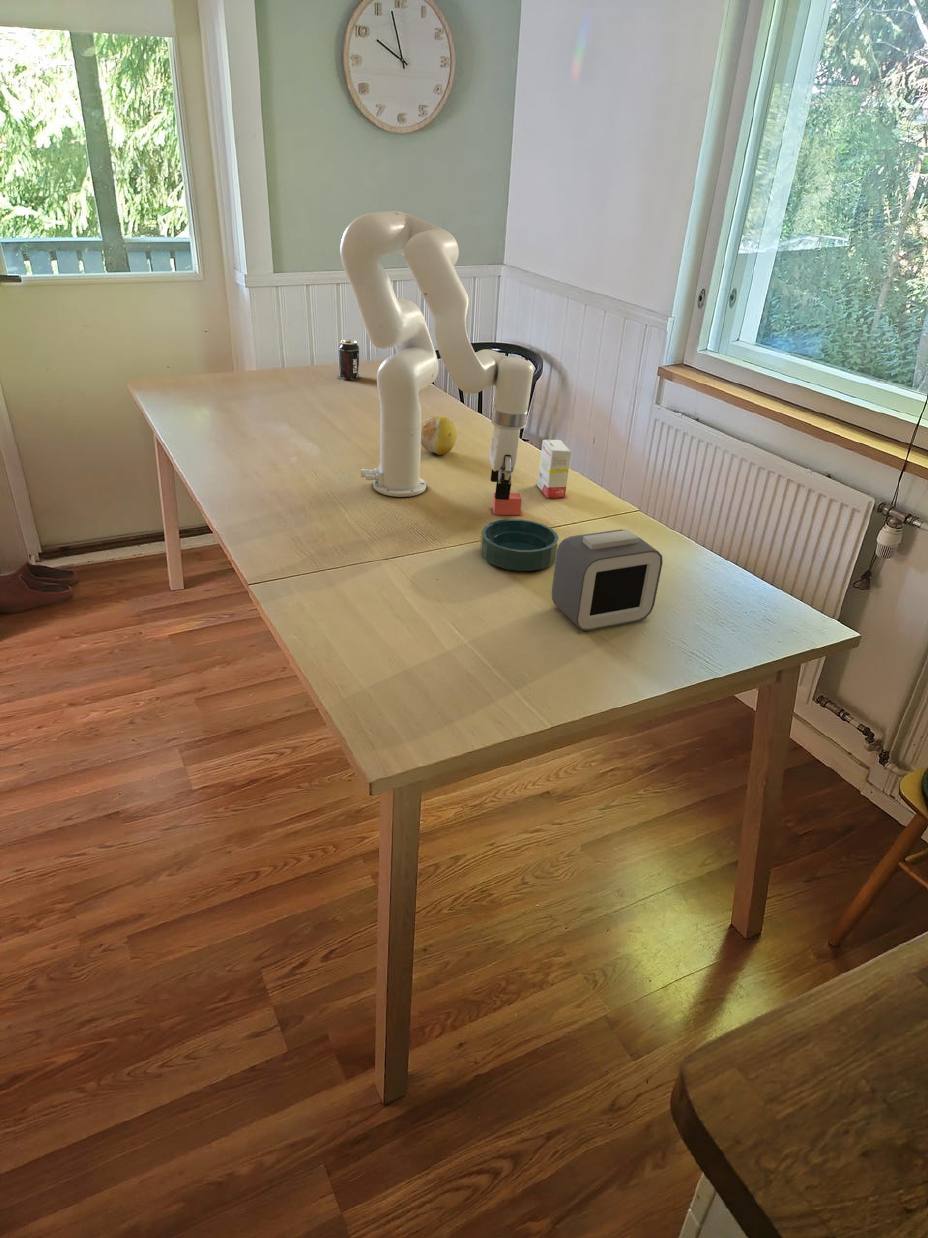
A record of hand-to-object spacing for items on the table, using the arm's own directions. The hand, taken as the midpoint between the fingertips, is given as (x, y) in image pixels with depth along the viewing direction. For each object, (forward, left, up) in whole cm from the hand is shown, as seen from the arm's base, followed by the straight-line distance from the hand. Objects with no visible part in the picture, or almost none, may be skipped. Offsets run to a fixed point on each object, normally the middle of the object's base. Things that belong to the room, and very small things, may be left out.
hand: (499, 490), depth 191 cm
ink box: (+14, +12, -5) cm, 19 cm away
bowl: (+1, -24, -5) cm, 25 cm away
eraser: (+2, -1, -5) cm, 5 cm away
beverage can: (-39, +108, -5) cm, 115 cm away
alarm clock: (+13, -46, -5) cm, 48 cm away
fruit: (-13, +37, -5) cm, 39 cm away
